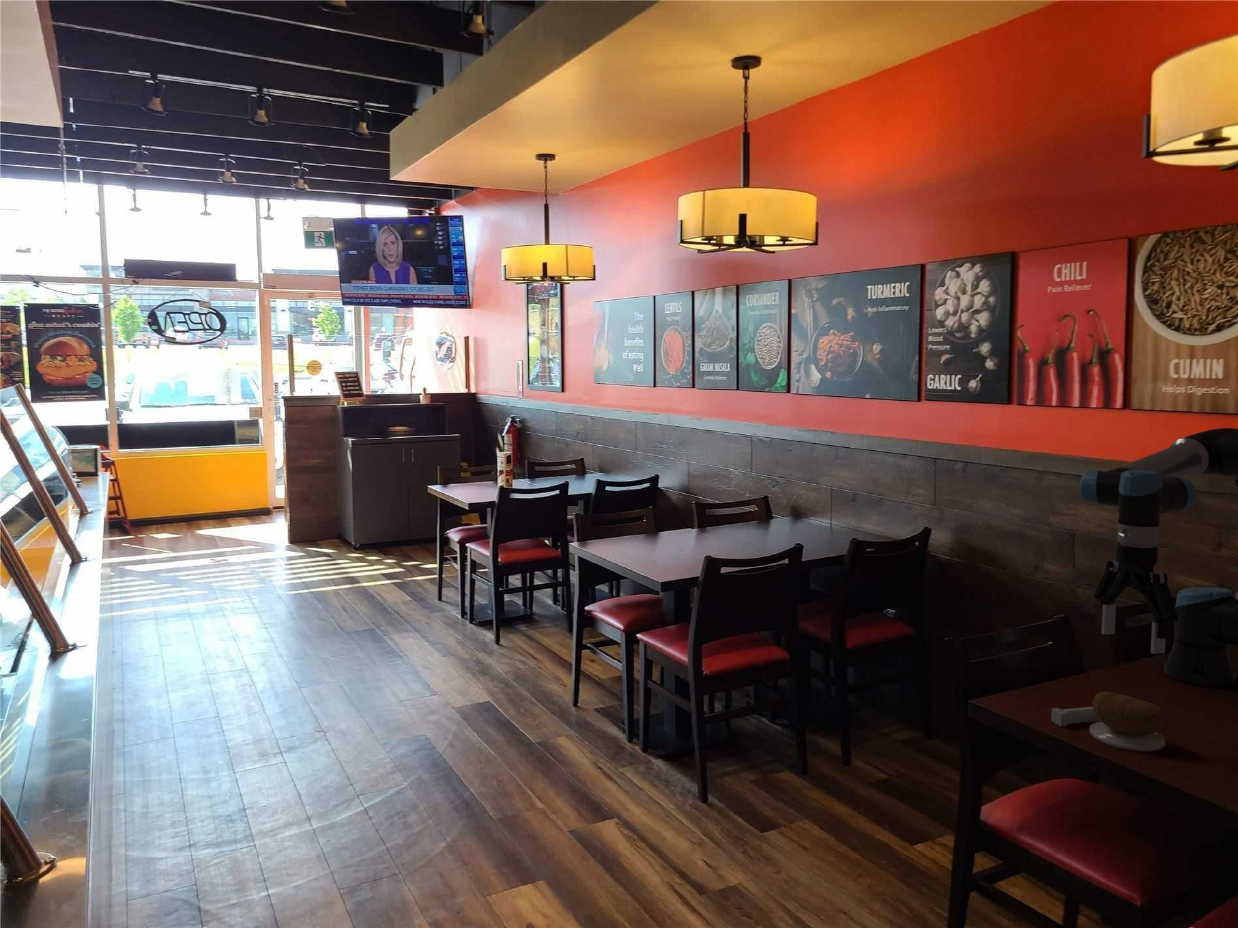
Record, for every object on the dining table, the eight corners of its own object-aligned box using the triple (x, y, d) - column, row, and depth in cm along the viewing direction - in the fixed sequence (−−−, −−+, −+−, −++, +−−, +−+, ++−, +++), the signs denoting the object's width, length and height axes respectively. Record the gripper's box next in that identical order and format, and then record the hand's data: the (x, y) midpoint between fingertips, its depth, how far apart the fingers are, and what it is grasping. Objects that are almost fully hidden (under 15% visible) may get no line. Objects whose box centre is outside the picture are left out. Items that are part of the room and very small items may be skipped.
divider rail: (1142, 713, 200) (1142, 700, 200) (1152, 718, 197) (1153, 705, 197) (1051, 721, 195) (1051, 708, 195) (1060, 726, 193) (1061, 713, 192)
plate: (1129, 722, 195) (1130, 717, 195) (1181, 748, 181) (1181, 743, 181) (1074, 727, 192) (1075, 722, 192) (1123, 754, 178) (1123, 749, 178)
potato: (1158, 749, 178) (1160, 712, 177) (1084, 729, 188) (1086, 694, 187) (1172, 736, 185) (1174, 699, 184) (1100, 717, 195) (1102, 683, 194)
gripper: (1079, 534, 194) (1074, 627, 196) (1170, 556, 170) (1164, 662, 172) (1108, 533, 196) (1103, 625, 198) (1203, 555, 171) (1196, 660, 174)
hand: (1131, 643), depth 185 cm, fingers open, 13 cm apart
